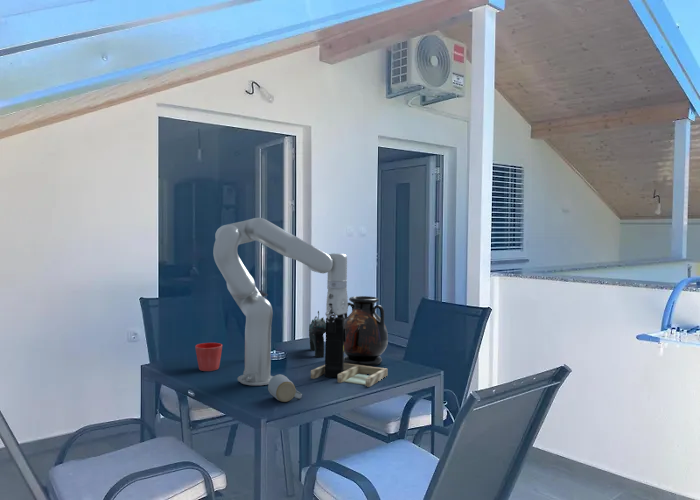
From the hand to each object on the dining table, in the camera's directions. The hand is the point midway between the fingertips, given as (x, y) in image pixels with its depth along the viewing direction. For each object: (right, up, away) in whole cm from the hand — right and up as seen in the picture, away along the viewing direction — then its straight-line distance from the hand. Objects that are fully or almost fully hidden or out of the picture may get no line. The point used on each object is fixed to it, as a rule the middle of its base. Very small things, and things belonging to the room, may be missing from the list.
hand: (336, 330), depth 222 cm
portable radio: (0, -18, +1) cm, 18 cm away
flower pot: (-52, -17, +8) cm, 55 cm away
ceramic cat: (-10, -16, +40) cm, 44 cm away
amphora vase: (+11, -17, +24) cm, 32 cm away
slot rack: (+5, -18, -2) cm, 19 cm away
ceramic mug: (-16, -19, -31) cm, 39 cm away
